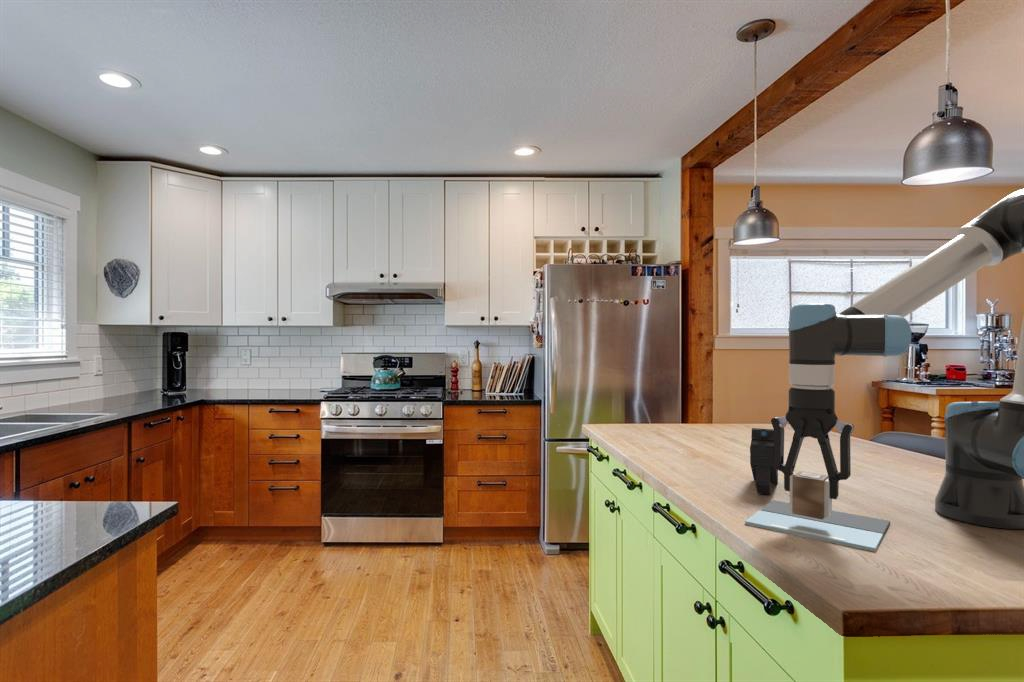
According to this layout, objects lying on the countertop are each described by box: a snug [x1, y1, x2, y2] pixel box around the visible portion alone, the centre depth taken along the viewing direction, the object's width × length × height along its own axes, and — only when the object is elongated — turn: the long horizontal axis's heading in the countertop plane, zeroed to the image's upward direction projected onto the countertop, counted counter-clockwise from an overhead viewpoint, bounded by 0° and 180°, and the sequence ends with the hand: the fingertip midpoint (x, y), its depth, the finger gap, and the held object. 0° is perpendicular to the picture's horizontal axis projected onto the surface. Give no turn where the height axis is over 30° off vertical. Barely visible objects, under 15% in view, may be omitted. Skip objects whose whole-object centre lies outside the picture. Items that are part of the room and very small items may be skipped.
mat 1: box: [760, 499, 891, 537], centre depth 108 cm, size 21×9×1 cm, turn 49°
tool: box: [749, 427, 779, 495], centre depth 132 cm, size 6×19×15 cm, turn 152°
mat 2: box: [744, 509, 884, 553], centre depth 101 cm, size 21×9×1 cm, turn 49°
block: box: [792, 470, 829, 520], centre depth 101 cm, size 5×5×7 cm
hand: (810, 512), depth 101 cm, fingers closed on block, 5 cm apart
